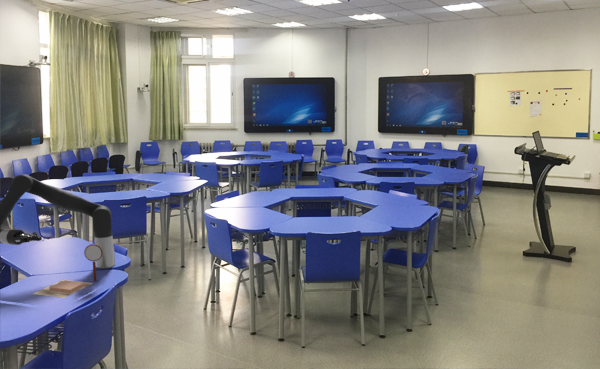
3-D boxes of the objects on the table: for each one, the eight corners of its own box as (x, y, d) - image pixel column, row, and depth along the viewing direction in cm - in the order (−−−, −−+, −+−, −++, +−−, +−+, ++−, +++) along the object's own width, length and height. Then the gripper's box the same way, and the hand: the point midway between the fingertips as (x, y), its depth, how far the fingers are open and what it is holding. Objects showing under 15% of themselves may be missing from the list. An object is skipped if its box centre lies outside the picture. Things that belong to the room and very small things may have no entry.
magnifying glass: (86, 283, 260) (83, 245, 257) (87, 282, 262) (84, 244, 259) (103, 283, 261) (101, 244, 258) (104, 282, 263) (102, 243, 260)
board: (63, 281, 264) (62, 279, 263) (93, 285, 259) (93, 283, 258) (32, 295, 245) (32, 293, 244) (64, 299, 240) (64, 297, 239)
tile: (64, 280, 257) (84, 282, 254) (64, 284, 257) (84, 286, 254) (49, 287, 247) (70, 289, 244) (49, 291, 248) (70, 293, 244)
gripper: (0, 233, 253) (29, 234, 248) (21, 226, 266) (49, 227, 261) (2, 248, 254) (31, 249, 250) (23, 240, 267) (51, 242, 262)
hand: (40, 238), depth 255 cm, fingers closed
